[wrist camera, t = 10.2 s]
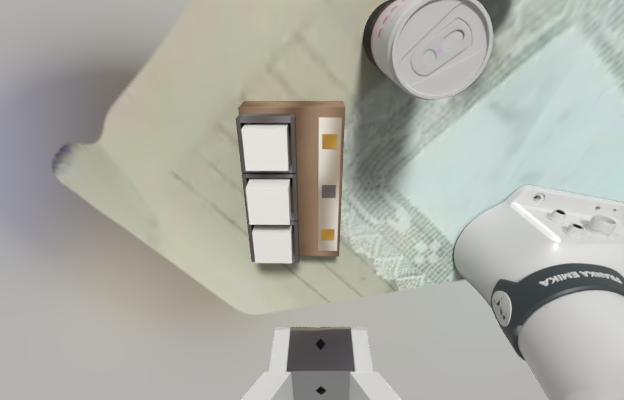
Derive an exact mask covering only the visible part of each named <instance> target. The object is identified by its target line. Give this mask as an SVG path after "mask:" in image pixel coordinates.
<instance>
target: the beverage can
mask: <svg viewBox="0 0 624 400" xmlns="http://www.w3.org/2000/svg"><path fill="white" fill-rule="evenodd" d="M363 42H364V48H365V51H366V54H367V56H368V57H369V59H370V60H371V61H372V63H374V64H375V65H376V66H377V67H378V68H379V69H380V70H381V71H382V72H383V73H385V74H386V75H387V76H388V77H389V78H390V79H391V80H392V81H393V82H395V83H396V84H397V85H398V86H399V87H400V88H401V89H402V90H403V91H405V92H406V93H408V94H409V95H411V96H413V97H416V98H419V99H425V100H435V99H443V98H448V97H451V96H453V95H456V94H458V93H459V92H461V91H463V90H464V89H466V88H467V87H468V86H470V85H471V84H472V83H473V82H474V81H475V80H476V79H477V77H478V76H479V75H480V74H481V72H482V71H483V69H484V68H485V66H486V64H487V62H488V59H489V57H490V54H491V50H492V45H493V27H492V23H491V19H490V17H489V15H488V13H487V11H486V9H485V8H484V7H483V5H482V4H481V3H480V2H478V1H477V0H389V1H386V2H384V3H383V4H381V5H380V6H379V7H377V8H376V9H375V10H374V12H373V13H372V14H371V16H370V17H369V19H368V21H367V23H366V26H365V29H364V36H363Z"/></svg>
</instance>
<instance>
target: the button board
mask: <svg viewBox="0 0 624 400" xmlns="http://www.w3.org/2000/svg"><path fill="white" fill-rule="evenodd" d="M238 109H239V115H238V117H237V118H236V125H237V134H238V143H239V152H240V161H241V170H242V179H243V188H244V197H245V206H246V215H247V220H248V221H247V224H248V233H249V242H250V251H251V260H252V262H255V255H254V245H253V236H252V231H253V228H254V225H249V215H248V206H247V197H246V186H247V184H248V182H249V179H250V178H290V190H291V219H290V225H292V226H293V259H292V262H299V256H339V244H340V219H341V195H342V171H343V146H344V122H345V106H344V102H343V101H244V102H243V103H242V104H241V105H240V107H239V108H238ZM245 123H289V145H290V165H289V170H288V171H246V169H245V159H244V150H243V140H242V131H241V129H242V127H243V126H244V124H245Z"/></svg>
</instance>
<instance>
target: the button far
mask: <svg viewBox="0 0 624 400" xmlns="http://www.w3.org/2000/svg"><path fill="white" fill-rule="evenodd" d="M252 236H253V245H254V255H255V263H292V259H293V226H292V225H254V228H253V231H252Z"/></svg>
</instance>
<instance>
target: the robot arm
mask: <svg viewBox="0 0 624 400" xmlns="http://www.w3.org/2000/svg"><path fill="white" fill-rule="evenodd" d="M535 196H537V197H536V198H534V197H535ZM533 198H534V199H533ZM454 262H455V266H456V268H457V270H458V272H459V273H460V274H461V276H462V277H463V278H464V279H466V280H467V281H468V282H469V283H470V284H471V285H472V286H473V287H474V288H475V289H476V290H477V291H478V292H479V293H480V294H481V295H482V296H483V298H484V299H485V300H486V301H487V303H488V304H489V305H490V306H491V308H492V310H493V312H494V314H495V317H496V319H497V321H498V323H499V325H500V327H501V329H502V330H503V332H504V334H505V335H506V337H507V339H508V340H509V342H510V343H511V345H512V346H513V348H514V350H515V351H516V353H517V354H518V355H519V356H520V357H521V358H522V359H523V360H525V361H526V362H527V364H528V365H529V367H530V369H531V370H532V372H533V374H534V375H535V377H536V379H537V380H538V382H539V384H540V385H541V387H542V389H543V390H544V392H545V393H546V395H547V397H548V399H549V400H624V203H622V202H617V201H612V200H606V199H601V198H596V197H591V196H585V195H580V194H575V193H570V192H564V191H559V190H554V189H548V188H543V187H538V186H533V185H524V186H522V187H520V188H518V189H517V190H516V191H515V192H514V193H512V194H511V195H510V196H509V197H508V198H507V199H506V200H505V201H504V202H502V203H501V204H499V205H497V206H495V207H493V208H491V209H489V210H487V211H485V212H484V213H482V214H481V215H479V216H478V217H476V218H475V219H474V220H473V221H472V222H470V223H469V224H468V226H467V227H466V228H465V229H464V230H463V232H462V233H461V235H460V236H459V238H458V240H457V243H456V245H455V249H454ZM241 400H401V399H400V397H399V396H398V395H397V394H396V393H395V391H394V390H393V389H392V388H391V387H390V386H389V384H388V383H387V382H386V381H385V380H384V378H383V377H382V376H381V375H380V374H379V373H378V372H373V366H372V360H371V353H370V347H369V340H368V334H367V329H366V327H320V328H315V327H276V328H275V330H274V336H273V343H272V350H271V357H270V364H269V371H268V372H263V374H262V375H261V376H260V377H259V378H258V380H257V381H256V382H255V383H254V384H253V385H252V387H251V388H250V389H249V390H248V391H247V393H246V394H245V395H244V396H243V397H242V399H241Z"/></svg>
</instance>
